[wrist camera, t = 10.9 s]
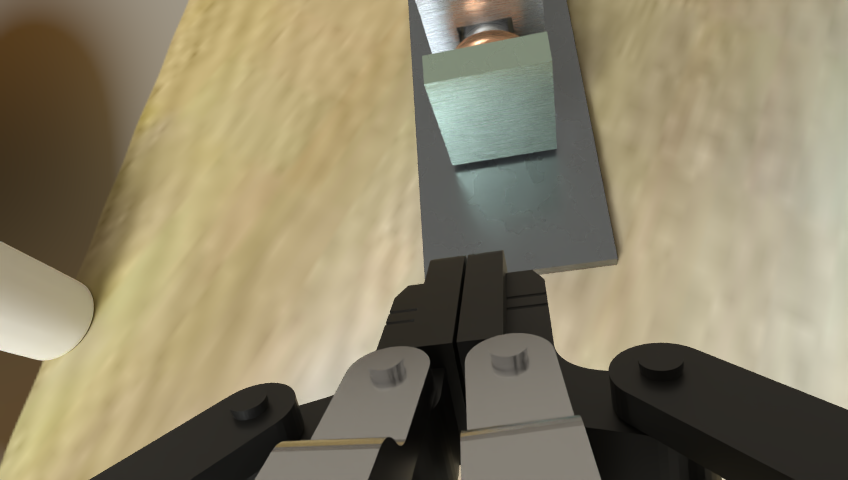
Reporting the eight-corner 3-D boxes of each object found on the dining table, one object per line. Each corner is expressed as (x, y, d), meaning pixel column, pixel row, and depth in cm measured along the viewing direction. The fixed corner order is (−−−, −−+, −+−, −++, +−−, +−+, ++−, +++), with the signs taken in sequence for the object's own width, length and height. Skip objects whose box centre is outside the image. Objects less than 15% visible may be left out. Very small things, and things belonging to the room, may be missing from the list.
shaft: (438, 0, 49) (411, -102, 41) (528, -20, 48) (518, -128, 40) (452, 165, 43) (424, 84, 35) (556, 148, 42) (552, 60, 33)
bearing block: (410, 1, 52) (375, -106, 43) (558, -30, 49) (554, -151, 40) (428, 288, 41) (387, 225, 32) (616, 264, 39) (628, 190, 30)
